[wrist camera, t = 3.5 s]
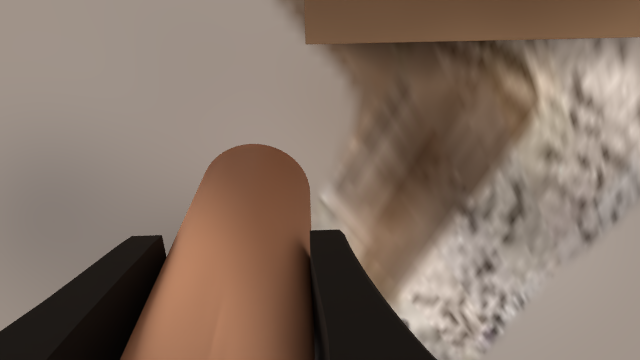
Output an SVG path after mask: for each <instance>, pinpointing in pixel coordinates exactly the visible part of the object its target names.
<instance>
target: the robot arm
mask: <svg viewBox="0 0 640 360" xmlns="http://www.w3.org/2000/svg"><path fill="white" fill-rule="evenodd" d="M165 260H166V253H165V248H164V244H163V239H162V235H155V236H132V237H130V238H128V239H127V240H125V241H124V242H122V243H121V244H120V245H118V246H117V247H115V248H114V249H113V250H111V251H110V252H109V253H107V254H106V255H105V256H103V257H102V258H101V259H100V260H98V261H97V262H95V263H94V264H93V265H91V266H90V267H89V268H88V269H86V270H85V271H84V272H82V273H81V274H80V275H78V276H77V277H76V278H74V279H73V280H72V281H70V282H69V283H68V284H66V285H65V286H64V287H62V288H61V289H60V290H58V291H57V292H56V293H54V294H53V295H52V296H50V297H49V298H47V299H46V300H45V301H43V302H42V303H40V304H39V305H38V306H36V307H35V308H33V309H32V310H31V311H29V312H28V313H26V314H25V315H23V316H22V317H20V318H19V319H17V320H16V321H14V322H13V323H12V324H10V325H9V326H7V327H6V328H4V329H3V330H2V331H0V360H120V358H121V356H122V354H123V352H124V349H125V347H126V345H127V343H128V341H129V339H130V336H131V334H132V332H133V330H134V328H135V325H136V323H137V321H138V319H139V317H140V314H141V312H142V310H143V308H144V306H145V303H146V301H147V299H148V297H149V295H150V293H151V290H152V288H153V286H154V284H155V282H156V279H157V277H158V275H159V273H160V271H161V268H162V266H163V264H164V262H165ZM310 265H311V293H312V302H313V314H314V345H315V360H437V359H436V358H435V357H434V356H433V355H432V354H431V353H430V352H429V351H428V350H427V349H426V348H425V347H424V346H423V345H422V344H421V342H420V341H419V340H418V339H417V338H416V337H415V336H414V335H413V333H412V332H411V331H410V330H409V329H408V328H407V326H406V325H405V324H404V323H403V322H402V320H401V319H400V318H399V317H398V315H397V314H396V313H395V312H394V311H393V309H392V308H391V307H390V305H389V304H388V303H387V302H386V300H385V299H384V298H383V296H382V295H381V293H380V292H379V291H378V289H377V288H376V286H375V285H374V284H373V282H372V281H371V279H370V278H369V277H368V275H367V274H366V272H365V271H364V269H363V267H362V266H361V264H360V263H359V261H358V259H357V258H356V256H355V254H354V253H353V251H352V249H351V247H350V245H349V243H348V241H347V239H346V237H345V235H344V234H343V233H342V232H341V231H340V230H313V231H310Z"/></svg>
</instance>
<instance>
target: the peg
mask: <svg viewBox="0 0 640 360" xmlns="http://www.w3.org/2000/svg"><path fill="white" fill-rule="evenodd" d="M310 231H311V209H310V188H309V183H308V179H307V177H306V175H305V173H304V171H303V169H302V168H301V167H300V165H299V164H298V163H297V162H296V161H295V160H294V159H293V158H292V157H290V156H289V155H288V154H286V153H284V152H283V151H281V150H279V149H276V148H274V147H271V146H267V145H261V144H246V145H241V146H236V147H234V148H231V149H229V150H227V151H225V152H223V153H222V154H220V155H219V156H218V157H216V158H215V159H214V160H213V161H212V163H211V164H210V165H209V167H208V169H207V170H206V172H205V174H204V177H203V179H202V181H201V183H200V185H199V188H198V190H197V192H196V194H195V196H194V199H193V201H192V203H191V205H190V207H189V210H188V212H187V214H186V216H185V218H184V220H183V222H182V225H181V227H180V229H179V231H178V233H177V236H176V238H175V240H174V242H173V244H172V247H171V249H170V251H169V254H168V255H167V257H166V260H165V262H164V264H163V266H162V268H161V271H160V273H159V275H158V277H157V279H156V282H155V284H154V286H153V288H152V290H151V293H150V295H149V297H148V299H147V301H146V303H145V306H144V308H143V310H142V312H141V314H140V317H139V319H138V321H137V323H136V325H135V328H134V330H133V332H132V334H131V336H130V339H129V341H128V343H127V345H126V347H125V349H124V352H123V354H122V356H121V358H120V360H315V345H314V314H313V302H312V293H311V265H310Z"/></svg>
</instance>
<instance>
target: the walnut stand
mask: <svg viewBox="0 0 640 360" xmlns="http://www.w3.org/2000/svg"><path fill="white" fill-rule="evenodd" d="M304 4H305V38H306V44H344V43H390V42H436V41H482V40H528V39H574V38H620V37H640V0H304Z"/></svg>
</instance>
